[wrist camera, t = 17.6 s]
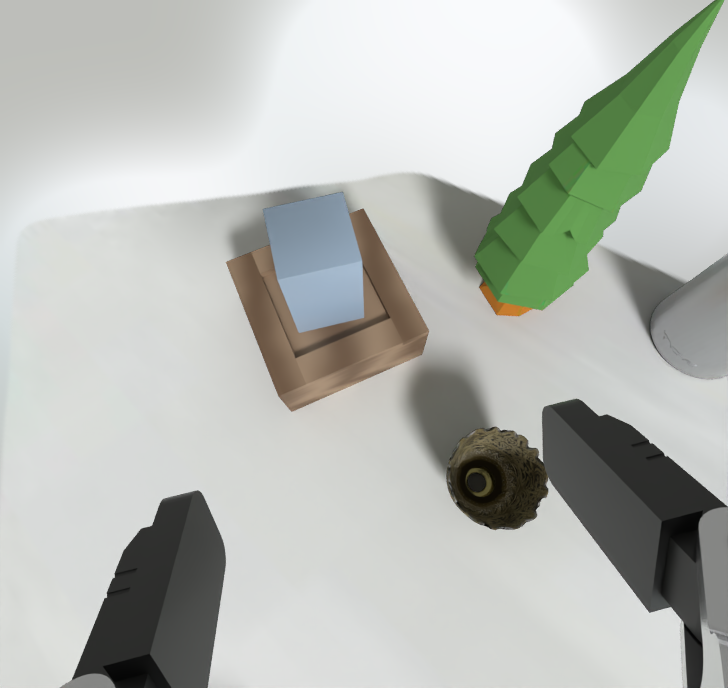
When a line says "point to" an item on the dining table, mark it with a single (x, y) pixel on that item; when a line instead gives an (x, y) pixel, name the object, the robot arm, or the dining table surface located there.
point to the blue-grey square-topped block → (317, 261)
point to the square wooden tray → (336, 342)
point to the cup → (497, 478)
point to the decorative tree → (586, 178)
